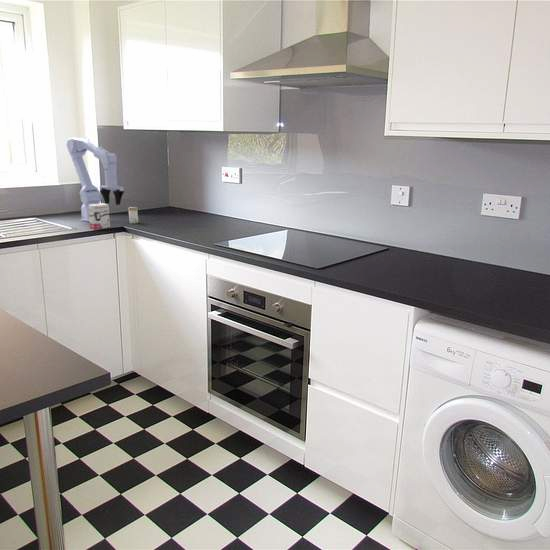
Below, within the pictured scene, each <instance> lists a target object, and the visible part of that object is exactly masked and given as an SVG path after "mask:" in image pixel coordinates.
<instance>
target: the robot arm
mask: <svg viewBox="0 0 550 550" xmlns="http://www.w3.org/2000/svg"><path fill="white" fill-rule="evenodd" d="M66 148H67V150H68V153H69V156H70V157H71V161H72V163H73V167H74V168H75V172H76V174H77V177H78V179H79V181H80V182H79V183H80V184H81V189H80V191H79V197H80V201H81V203H82V205H81V207H80V209H81V212H80V213H81V219H80V221H82V222H88V223H90V218H89V207H88V205H91V204H101V203H102V200H104V203H105V204H108V205H109V204H110V196H111V195H110V194H111V191H112V193H113V195H114V198H115V204H116V206H119V205H121V201H122V197H123V194H124V193H125V191H124V186H121V185H120V186H119V185H118V181H117V180H118V179H117V178H118V176H117V175H118V174H117V165H118V162H119V159H118V158H119V157H118V156H117V154H116V153H115V152H111V153H110V151H108V150H106V149H104V147H103V146H96V145H94V144H93V143H92V142H91V141H90V140H89V139H88V138H87V137H68V139H67V141H66ZM87 151H89V153H90V152H91V153H92V154H93V156H94V157H95V158H96V159H97V160H99V161H100V162H101V164H102V168H103V169H104V181H105V185H103V184H102V185H99V189H98V187H97V186H96V185H94V184H93V182H92V179H91V177H90V175H89V171H88V170H87V166H86V164H85V161H84V159H83V156H85V155H86V153H87Z"/></svg>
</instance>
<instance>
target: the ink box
mask: <svg viewBox="0 0 550 550" xmlns="http://www.w3.org/2000/svg"><path fill="white" fill-rule="evenodd" d="M88 207H89V218H90V222H89V227H90V229H92V230H101V229H107V228H108V227H109V228H111V222H110V221H111V220H110V219H111V218H110V207H109V203H108V204H105V202H104V203H102V202H100V204H91V205H88ZM109 228H108V229H109Z"/></svg>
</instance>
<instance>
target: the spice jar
mask: <svg viewBox="0 0 550 550" xmlns="http://www.w3.org/2000/svg"><path fill="white" fill-rule="evenodd" d="M127 209H128V219H129V224H138V223H139V215H138V206H137V207H136V206H128V208H127Z"/></svg>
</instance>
